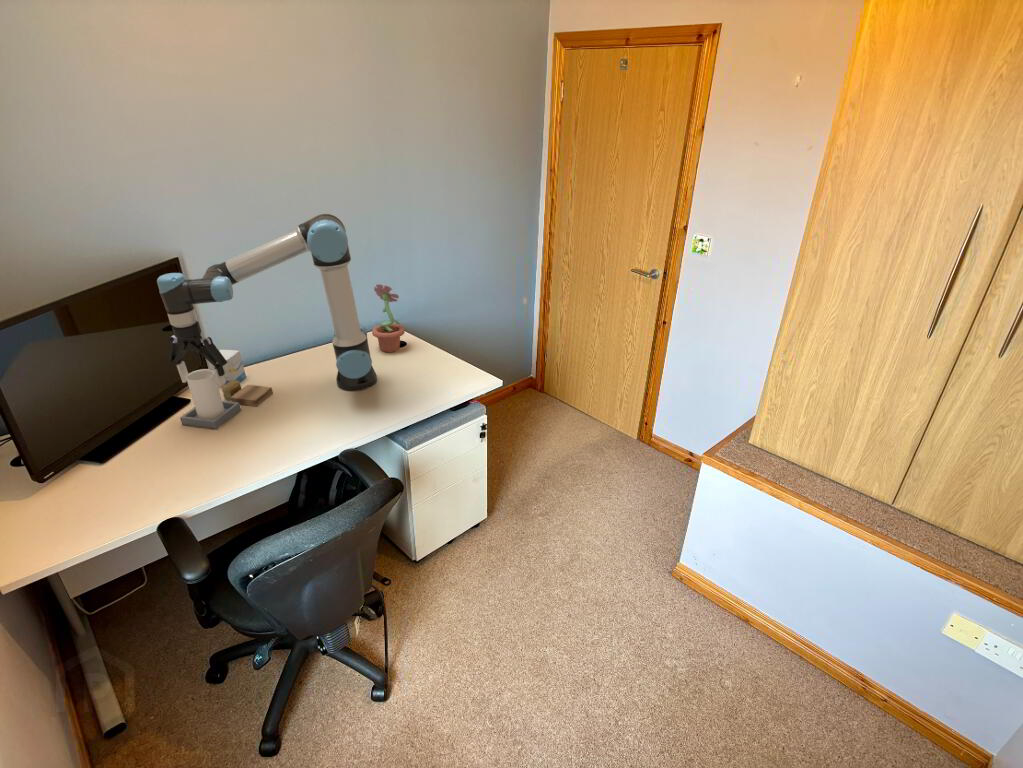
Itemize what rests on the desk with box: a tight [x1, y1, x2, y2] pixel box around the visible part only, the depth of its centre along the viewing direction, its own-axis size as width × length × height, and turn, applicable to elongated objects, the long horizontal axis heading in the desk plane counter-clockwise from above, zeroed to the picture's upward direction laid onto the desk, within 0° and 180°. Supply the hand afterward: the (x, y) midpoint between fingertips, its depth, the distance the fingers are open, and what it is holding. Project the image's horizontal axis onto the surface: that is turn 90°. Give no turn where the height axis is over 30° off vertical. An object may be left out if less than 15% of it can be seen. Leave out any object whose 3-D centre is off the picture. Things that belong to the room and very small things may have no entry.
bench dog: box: [221, 380, 242, 401], centre depth 198 cm, size 3×6×5 cm, turn 169°
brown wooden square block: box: [230, 384, 274, 407], centre depth 198 cm, size 10×10×3 cm
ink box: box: [206, 349, 247, 387], centre depth 207 cm, size 8×8×12 cm
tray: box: [179, 400, 242, 431], centre depth 185 cm, size 13×13×3 cm
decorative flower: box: [371, 283, 405, 353], centre depth 231 cm, size 15×14×30 cm
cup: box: [186, 368, 225, 420], centre depth 182 cm, size 8×8×16 cm
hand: (204, 382), depth 180 cm, fingers open, 13 cm apart
